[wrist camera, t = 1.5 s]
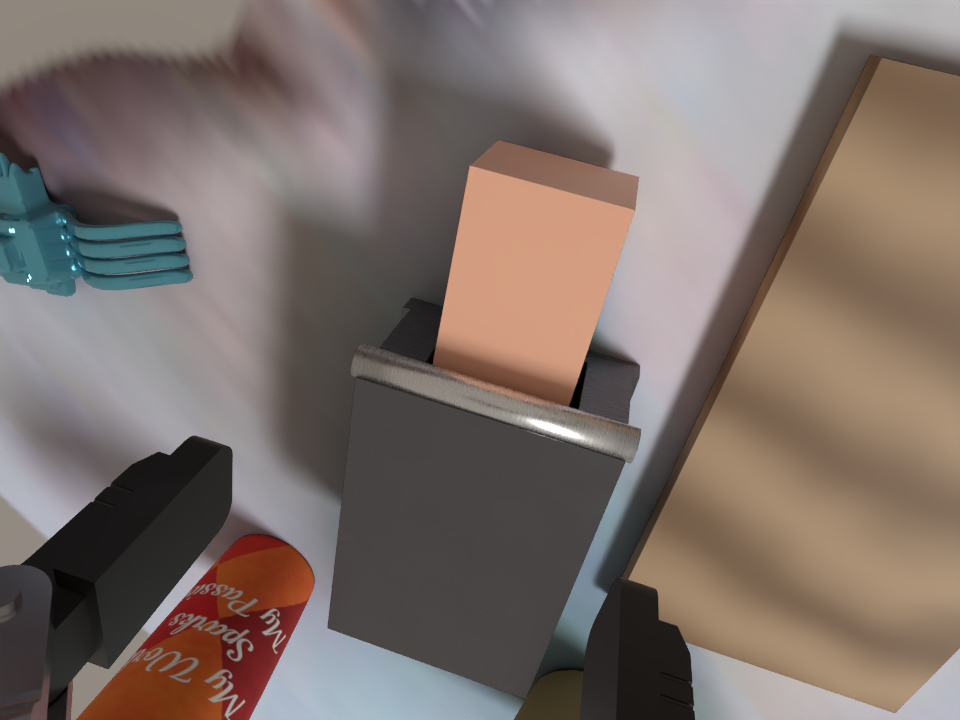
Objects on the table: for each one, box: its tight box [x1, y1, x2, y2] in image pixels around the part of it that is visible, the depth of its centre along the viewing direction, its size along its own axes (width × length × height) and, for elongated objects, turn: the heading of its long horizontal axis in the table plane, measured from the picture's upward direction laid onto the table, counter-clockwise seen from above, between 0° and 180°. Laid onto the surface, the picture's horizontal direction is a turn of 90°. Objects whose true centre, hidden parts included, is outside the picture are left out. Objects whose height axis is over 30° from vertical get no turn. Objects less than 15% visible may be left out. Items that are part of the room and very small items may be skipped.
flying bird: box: [0, 152, 193, 296], centre depth 29 cm, size 15×7×4 cm, turn 89°
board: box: [622, 55, 960, 713], centre depth 25 cm, size 26×14×1 cm, turn 168°
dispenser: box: [328, 298, 641, 699], centre depth 27 cm, size 15×10×7 cm
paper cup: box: [76, 534, 315, 720], centre depth 33 cm, size 8×8×14 cm
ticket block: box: [433, 140, 639, 406], centre depth 25 cm, size 18×5×4 cm, turn 168°
